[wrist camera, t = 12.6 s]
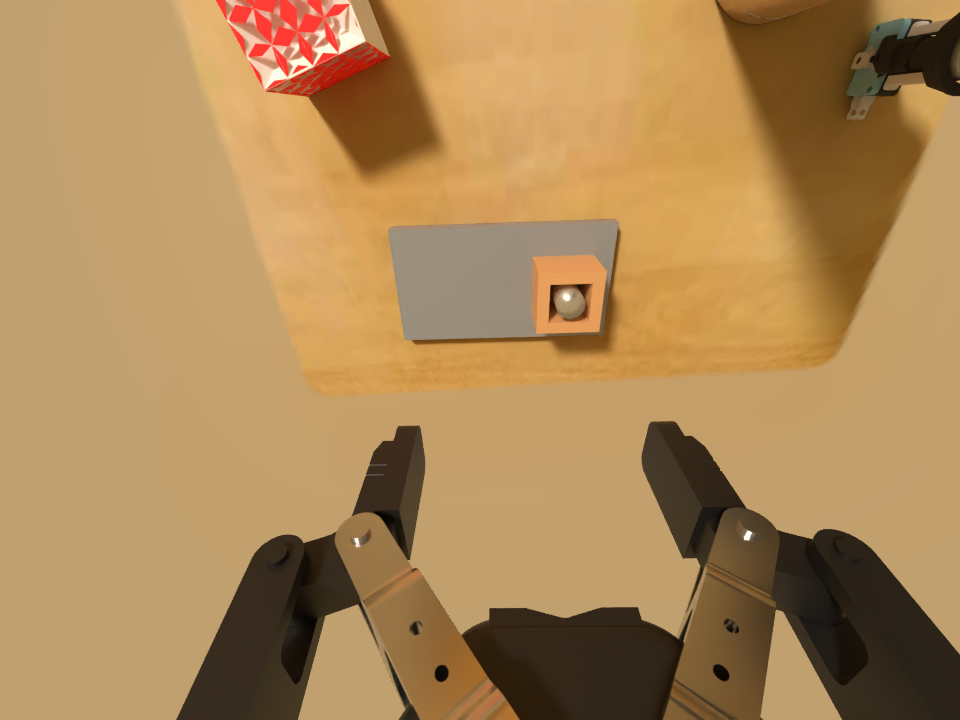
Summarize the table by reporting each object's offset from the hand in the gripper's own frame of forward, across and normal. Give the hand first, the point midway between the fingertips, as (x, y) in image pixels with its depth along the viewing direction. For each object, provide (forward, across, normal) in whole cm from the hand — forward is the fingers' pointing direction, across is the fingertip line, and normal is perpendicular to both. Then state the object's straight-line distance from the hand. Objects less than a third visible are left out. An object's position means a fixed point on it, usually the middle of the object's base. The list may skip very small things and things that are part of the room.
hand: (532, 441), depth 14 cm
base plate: (+30, 0, +5) cm, 31 cm away
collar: (+29, -6, +5) cm, 30 cm away
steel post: (+30, -6, +5) cm, 31 cm away
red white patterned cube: (+30, +14, -17) cm, 38 cm away
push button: (+30, -30, -12) cm, 44 cm away
